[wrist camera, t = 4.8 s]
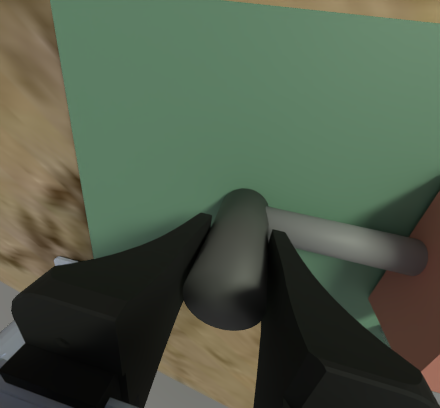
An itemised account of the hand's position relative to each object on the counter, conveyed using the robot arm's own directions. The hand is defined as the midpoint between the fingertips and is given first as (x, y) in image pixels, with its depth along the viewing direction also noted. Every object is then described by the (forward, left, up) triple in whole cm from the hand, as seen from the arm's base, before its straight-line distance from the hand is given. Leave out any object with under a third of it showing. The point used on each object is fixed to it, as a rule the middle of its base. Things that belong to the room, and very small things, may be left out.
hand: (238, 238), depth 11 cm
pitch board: (0, -5, -4) cm, 7 cm away
